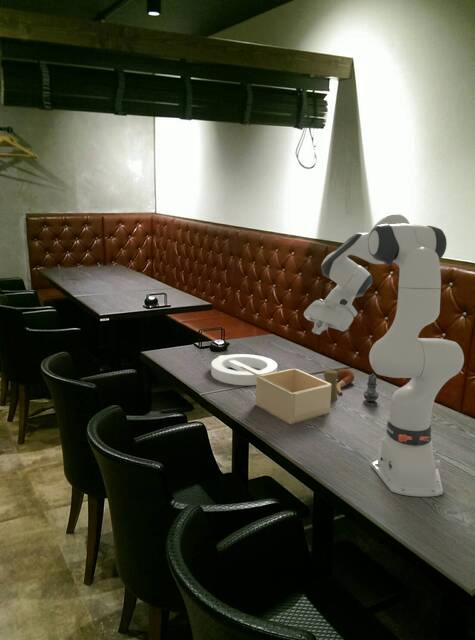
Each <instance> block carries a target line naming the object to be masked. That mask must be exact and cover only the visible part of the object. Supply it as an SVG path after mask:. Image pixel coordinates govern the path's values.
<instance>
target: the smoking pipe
mask: <svg viewBox="0 0 475 640" xmlns="http://www.w3.org/2000/svg"><path fill="white" fill-rule="evenodd" d="M336 372H337V373H338V378H337V379H336V381H337V382H336V386H337V394H338V395H339V396H343V394H344V392H343V391H342V390H341V388H343V387H346V386H347V385H349V384H351V383H353V382H354V380H355V374H354V371H352V370H350V369H347V368H341V369H337V371H336Z"/></svg>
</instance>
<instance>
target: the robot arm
mask: <svg viewBox="0 0 475 640" xmlns="http://www.w3.org/2000/svg"><path fill="white" fill-rule="evenodd" d="M447 243H448V241H447V237H446V234H445V232H444V231H443V229H441V228H438V227H436V226H433V225H432V226H431V225H420V224H411V223H410V222H409V220H408V218H407V217H406V216H404V215H402V214H400V213H397V212H396V213H395V212H393V213H388V214H386V215H385V216H384V217H382V218H381V219H379V221H378V222H376V224H375V225H373V227H372V228H371V229H370V231H367V232H357V233H354V234H353V235H352V236H350V237H349V238H348V239H347V240H346V241H344V242H343V243H342V244H341V245H340V246H339V247H337V248H336V249H335V250H333V251H332V252H330V253H329V254H327V255H326V257H325V258H324V259H323V261H322V263H321V265H320V268H321V273H322V275H323V276H324V277H326V278H327V279H330V280H331V281H333V282H334V283H336V286H335V287H334V288H333V289H332V288H331V290H330V292H329V293H328V294H327V296H326V297H325V299H322V298H319V299H316V300H314V301H313V302H312V303H311V304H310V305H309V306H308V307H307V308H306V309H305V310H304V312H303V316H304V318H305V319H306V320H307V321H310V322H312V323H313V327H312V329H311V332H312V333H313V334H315V335H319V336H320V335H321V334H322V333H323V332H324V331H326V330H328V328H330V329H331V328H332V329H335V330H338V331H341V332H345V331H346V330H348V329H349V327H350V326H351V324H352V323H353V321H354V319H355V317H357V315H358V311H357V309H356V308H355V306H354V305H353V302H354V300H355V298H360V297H363V296H364V295H365V293H366V292H367V290H368V289H369V288H370V287H371V286H372V284H373V278H372V274H371V273H370V272H369V271H368V269H366V268H365V267H363V266H362V265H359V264H357V263H356V262H355V261H354V260H352V259H351V258H349V257H348V256H355V257H357V258H360V259H362V260H364V261H365V262H367V263H370V264H374V265H384V264H386V265H387V266H391V265H392V263H395V264H396V265H397V266H398V267H399V276H398V286H397V287H398V290H397V303H396V311H395V317H394V319H393V322H392V324H391V326H390V328H389V329H388V330H387V332H386V333H385V334H384V335H383V336H382V337H381V338H379V339H378V340H376V342H374V343H373V345H372V347H371V348H370V351H369V354H368V358H369V359H368V360H369V363H370V367H371V369H372V370H373V371H374V373H376V374H377V375H379V376H383V377H389V378H393V379H400V378H401V379H402V378H403V379H405V378H406V379H410V378H411V379H410V380H409V382H407V383H406V384H405V385H403V386H401V387H399V388H397V389H396V390H395V391H394V393H393V394H392V395H391V400H390V410H389V411H390V412H389V418H388V419H387V422H386V434H385V435H384V437H382V438H381V439H380V441H379V448H378V453H377V454H378V455H377V460H375V461H372V463H371V467H372V469H373V470H374V471H375V472H376V474H377V475H378V476H379V477H380V479H381V480H382V481H383V483H384V484H385V485H386V487H387V488H388V489H389V490H390V491H391V492H392V493H395V494H399V495H404V496H408V497H409V496H411V497H422V498H423V497H426V498H427V497H437V496H440V495H443V494H444V487H443V483H442V481H441V475H440V472H439V470H440V469H441V465H442V464H441V460H439V459H435V456H437V450H435V449H434V448H433V441H432V425H431V419H432V412H433V407H434V402H435V400H436V397H437V395H438V393H439V392H440V390H441V389H442V387H443V386H444V385H445V384H446V383H447V382H448V381H449V380H450V379H452V378H453V377H455V376H457V375H458V374H459V373H460V372H461V370H462V369H463V366H464V363H465V356H464V352H463V349H462V347H461V346H460V344H458V343H457V342H456V341H453V340H449V339H444V338H439V337H437V338H436V337H435V338H434V337H433V338H431V337H428V338H426V337H419V335H420V333H421V331H422V330H423V329H424V328H425V327H426V326H429V325H431V324H432V323H434V322H435V321H436V320H437V319H438V317H439V315H440V311H441V293H442V291H441V288H442V276H441V275H442V274H441V273H442V272H441V266H440V265H441V264H440V260H441V259H442V258H443V256H444V255H445V253H446V249H447V246H448V245H447Z"/></svg>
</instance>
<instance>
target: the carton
mask: <svg viewBox="0 0 475 640" xmlns="http://www.w3.org/2000/svg"><path fill="white" fill-rule="evenodd" d="M260 376H262V377H264V378H266V379H268V380H270V381H272V382H274V383H276V384H278V385H280V386H282V387H284V388H286V389H288V390H290V392H288V391H286V390H284V389H282V388H280V387H278V386H276V385H274V384H272V383H270V382H268V381H266V380H264V379H262V378H260V377H258V376H257V382H256V385H255V387H256V388H255V390H256V391H255V406H257V407H259V408H261V409H262V410H264V411H266V412H268V413H269V414H271V415H273V416H274V417H277V419H279V420H281V421H283V422H285V423H287V424H289V425H293V424H297V423H301V422H305V421H307V420H312V419H314V418H319V417H323V416H325V415H329V414H330V409H331V402H332V401H331V387H332V384H331V383H328V382H326V381H325V379H324V380H323V379H321V378H319V377H316V376H314V375H313V374H310V373H307V372H305V371H303V370H301V369H298V368H290V369H288V368H287V369H283V370H280V371H277V372H274V373H269V374H264V375H260Z"/></svg>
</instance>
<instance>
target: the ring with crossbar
mask: <svg viewBox="0 0 475 640" xmlns="http://www.w3.org/2000/svg"><path fill="white" fill-rule="evenodd" d="M210 364H211V365H210V366H211V372H210V373H211V376H212V378H213V379H215V380H217V381H219V382H221V383H225V384H230V385H235V386H256V382H257V376H256V375H254V374H252V373H250V372H248V371H246V370H244V369H242V368H240V367H241V366H242V367H244V368H246V369H248V370H250V371H252V372H254V373H256V374H258V375H264V374H269V373H274V372H278V363H277V362H276V361H275V360H274V359H272V358H270V357H266V356H263V355H257V354H248V353H246V354H245V353H236V354H235V353H234V354H226V355H225V354H223V355H218V356H217V357H216V358H215V359H212V361H211V363H210ZM231 368H232V369H231Z"/></svg>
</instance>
